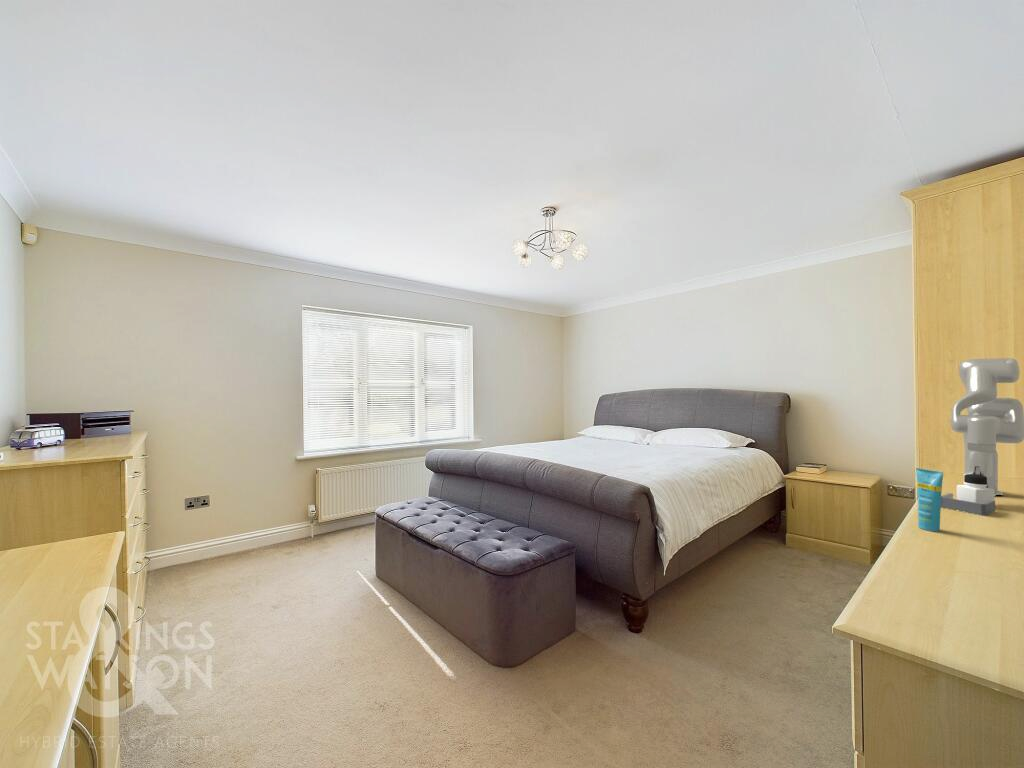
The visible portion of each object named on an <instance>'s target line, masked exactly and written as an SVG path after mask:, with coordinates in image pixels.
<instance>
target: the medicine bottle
mask: <svg viewBox="0 0 1024 768" xmlns="http://www.w3.org/2000/svg"><path fill="white" fill-rule="evenodd" d="M986 486H987V477H986V476H984V475H980V474H970V473H969V474H965V473H964V474H963V484H957V485H956V499H958V500H964V501H969V502H975V503H981V504H983V503H985V502H987V501H990V500H995V496H994V489H991V488H986Z"/></svg>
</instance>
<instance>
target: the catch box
mask: <svg viewBox="0 0 1024 768" xmlns="http://www.w3.org/2000/svg"><path fill="white" fill-rule="evenodd" d="M941 507H943V508H942V509H945V508H948V509H947V510H950V509H954V510H953V511H956V510H959V511H958V512H961V511H965V512H964V513H966V512H968V514H972V513H973V514H972V515H977V514H978V516H984V517H987V516H989V515H990V514H993V513H994V511H996V500H995V499H994V500H990V501H987V502H985V503H983V504H981V503H975V502H969V501H964V500H958V499H957V498H954V493H952V492H950V493H949V492H948V493H946V494H943V495H941Z"/></svg>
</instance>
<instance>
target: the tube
mask: <svg viewBox="0 0 1024 768" xmlns="http://www.w3.org/2000/svg"><path fill="white" fill-rule="evenodd" d="M915 469H916V471H915V472H916V481H917V506H918V507H917V508H918V509H917V511H918V512H917V513H918V514H917V517H918V519H917V520H918V522H917V523H918V528H920V529H922V530H924V531H928V532H935V531H936V532H940V529H941V509H942V508H941V496H942V491H943V490H942V489H943V478H944V471H939V470H930V469H925V468H919V467H915Z"/></svg>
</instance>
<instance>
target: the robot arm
mask: <svg viewBox="0 0 1024 768" xmlns="http://www.w3.org/2000/svg"><path fill="white" fill-rule="evenodd" d="M1020 371H1021V370H1020V366H1019V362H1018V361H1017V359H1015V358H1012V357H1011V358H1010V357H1009V358H1007V357H1005V358H1004V357H1003V358H1000V357H999V358H975V359H974V358H973V359H972V358H971V359H967V360H963V361H962V362H959V365H958V373H959V374H958V375H959V378H960V380H961V382H962V384H963V386H964V387H965V389H966V394H965V395H963V396H961V397H960V398H959V399H957V401H956V402H954V404H953V405H952V408H951V410H950V411H951V412H950V427H951V429H952V431H954V432H957V433H961V434H962V435H963V443H964V475H965V474H969V473H970V474H980V475H984V476H986V477H987V486H986V488H991V489H994V495H1001V494H1003V495H1004V492H1002V491H1000V490H998V487H999V486H998V485H999V483H998V482H999V481H998V479H999V478H998V477H999V454H998V451H997V443H1000V444H1020V443H1022V442H1023V441H1024V405H1023V404H1022V402H1021V401H1020V400H1019V399H1017V398H1010V397H997V396H998V384H1008V383H1009V384H1012V383H1016V382H1018V381H1019V379H1020V375H1021V374H1020ZM965 409H966V411H967V414H962V412H963V411H964V410H965Z"/></svg>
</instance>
